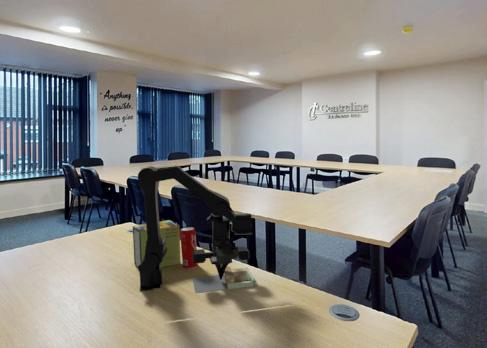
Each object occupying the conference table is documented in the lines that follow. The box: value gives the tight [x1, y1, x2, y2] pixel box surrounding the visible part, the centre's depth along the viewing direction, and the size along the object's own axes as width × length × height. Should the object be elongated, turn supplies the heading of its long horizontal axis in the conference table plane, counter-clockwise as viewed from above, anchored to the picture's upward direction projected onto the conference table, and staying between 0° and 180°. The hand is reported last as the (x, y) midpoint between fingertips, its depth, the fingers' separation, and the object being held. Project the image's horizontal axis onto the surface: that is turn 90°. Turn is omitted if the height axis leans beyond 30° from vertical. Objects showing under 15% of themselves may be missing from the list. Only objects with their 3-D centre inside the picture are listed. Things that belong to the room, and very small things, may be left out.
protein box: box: [132, 219, 181, 269], centre depth 129 cm, size 10×15×16 cm
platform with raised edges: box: [192, 267, 258, 294], centre depth 113 cm, size 20×12×2 cm, turn 104°
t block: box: [223, 265, 247, 286], centre depth 114 cm, size 7×8×4 cm
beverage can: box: [180, 226, 199, 270], centre depth 126 cm, size 6×6×15 cm
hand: (220, 279), depth 113 cm, fingers closed
